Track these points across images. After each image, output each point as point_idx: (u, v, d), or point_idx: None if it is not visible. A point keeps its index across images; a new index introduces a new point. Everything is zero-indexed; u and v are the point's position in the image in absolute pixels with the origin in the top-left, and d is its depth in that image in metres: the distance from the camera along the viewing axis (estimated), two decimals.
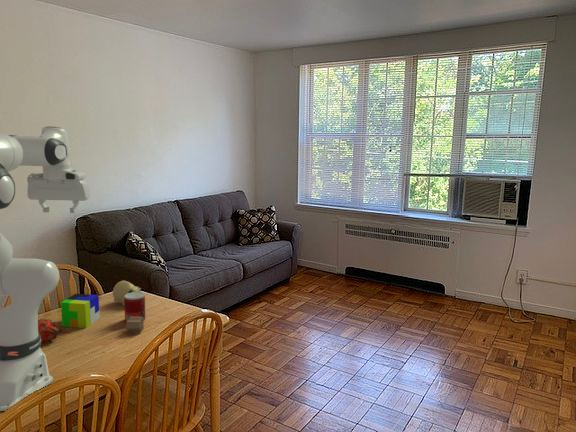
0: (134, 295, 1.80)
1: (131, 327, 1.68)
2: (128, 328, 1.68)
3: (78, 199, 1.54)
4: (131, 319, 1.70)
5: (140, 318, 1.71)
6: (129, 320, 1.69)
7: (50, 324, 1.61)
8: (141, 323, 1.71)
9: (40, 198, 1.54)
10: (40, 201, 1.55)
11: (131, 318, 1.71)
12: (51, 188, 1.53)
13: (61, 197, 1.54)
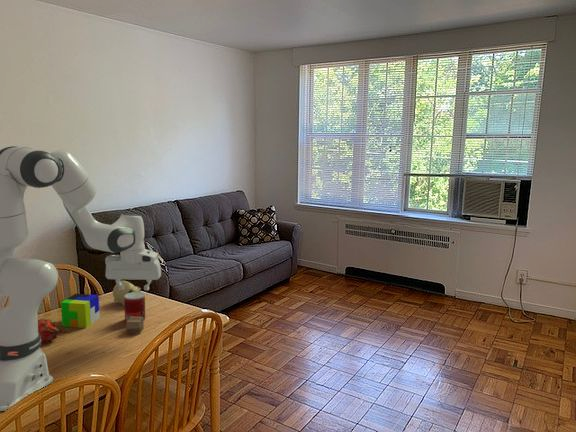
0: (134, 295, 1.80)
1: (131, 327, 1.68)
2: (128, 328, 1.68)
3: (152, 279, 1.66)
4: (131, 319, 1.70)
5: (140, 318, 1.71)
6: (129, 320, 1.69)
7: (50, 324, 1.61)
8: (141, 323, 1.71)
9: (117, 278, 1.66)
10: (117, 280, 1.66)
11: (131, 318, 1.71)
12: (127, 269, 1.65)
13: (136, 277, 1.66)
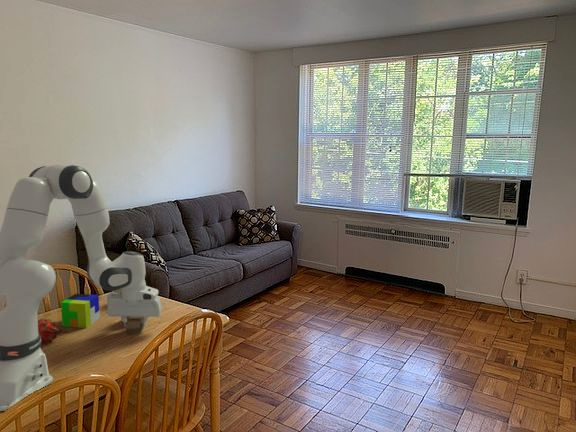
0: None
1: (131, 326, 1.68)
2: (128, 328, 1.68)
3: (153, 316, 1.69)
4: (131, 319, 1.70)
5: (140, 318, 1.71)
6: (129, 320, 1.69)
7: (50, 324, 1.61)
8: None
9: (118, 315, 1.68)
10: (122, 317, 1.69)
11: (131, 318, 1.71)
12: (129, 306, 1.68)
13: (138, 314, 1.68)
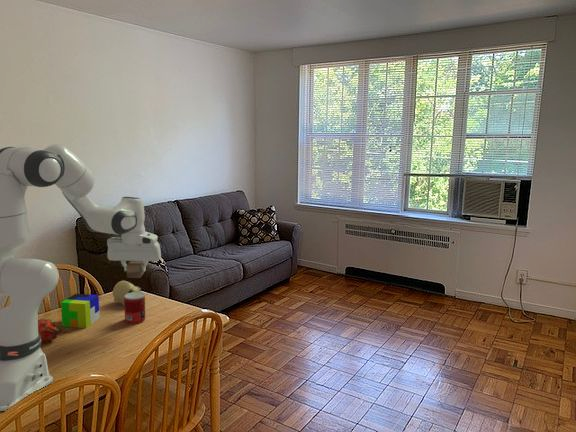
0: (134, 295, 1.80)
1: (131, 270, 1.72)
2: (128, 272, 1.72)
3: (152, 260, 1.72)
4: (131, 263, 1.73)
5: (140, 263, 1.74)
6: (129, 264, 1.72)
7: (50, 324, 1.61)
8: None
9: (119, 259, 1.71)
10: (122, 261, 1.72)
11: (131, 263, 1.74)
12: (128, 250, 1.71)
13: (137, 258, 1.71)
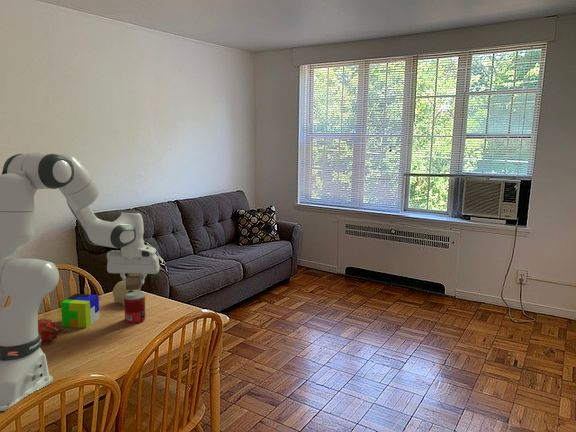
0: (134, 295, 1.80)
1: (130, 283, 1.76)
2: (127, 284, 1.76)
3: (151, 273, 1.76)
4: (130, 276, 1.77)
5: (139, 275, 1.79)
6: (128, 277, 1.76)
7: (50, 324, 1.61)
8: None
9: (118, 272, 1.75)
10: (121, 274, 1.76)
11: (130, 275, 1.78)
12: (128, 263, 1.75)
13: (136, 271, 1.76)
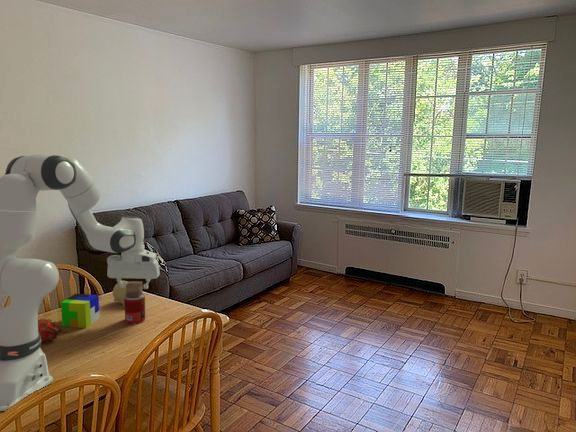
0: None
1: (131, 290, 1.76)
2: (127, 291, 1.76)
3: (151, 278, 1.76)
4: (130, 283, 1.78)
5: (139, 282, 1.79)
6: (128, 284, 1.77)
7: (50, 324, 1.61)
8: (140, 287, 1.78)
9: (118, 277, 1.76)
10: (118, 279, 1.77)
11: (130, 282, 1.79)
12: (128, 268, 1.75)
13: (136, 276, 1.76)
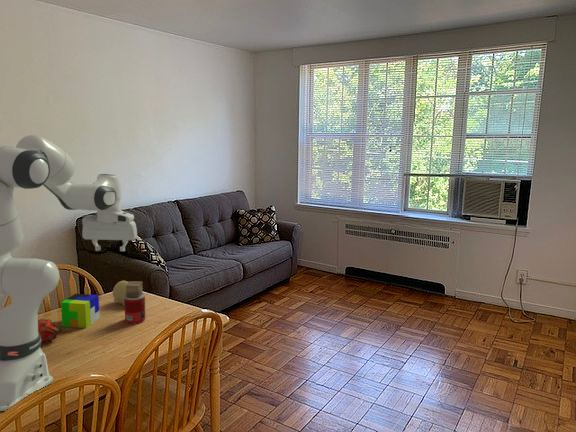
0: None
1: (131, 290, 1.76)
2: (127, 291, 1.76)
3: (128, 239, 1.69)
4: (130, 283, 1.78)
5: (139, 282, 1.79)
6: (128, 284, 1.77)
7: (50, 324, 1.61)
8: (140, 287, 1.78)
9: (93, 238, 1.69)
10: (93, 240, 1.70)
11: (130, 282, 1.79)
12: (104, 229, 1.69)
13: (112, 237, 1.69)
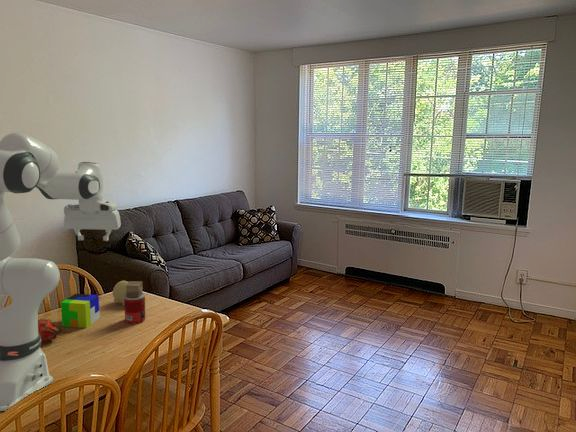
0: None
1: (131, 290, 1.76)
2: (127, 291, 1.76)
3: (111, 229, 1.66)
4: (130, 283, 1.78)
5: (139, 282, 1.79)
6: (128, 284, 1.77)
7: (50, 324, 1.61)
8: (140, 287, 1.78)
9: (76, 227, 1.65)
10: (76, 230, 1.66)
11: (130, 282, 1.79)
12: (86, 218, 1.65)
13: (95, 226, 1.66)
